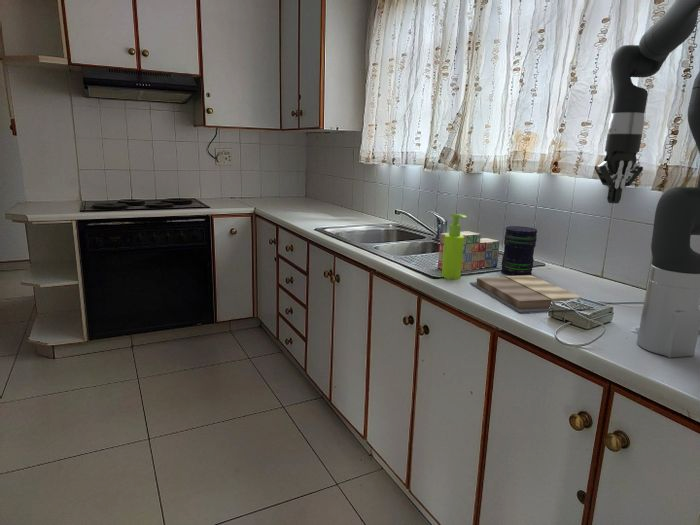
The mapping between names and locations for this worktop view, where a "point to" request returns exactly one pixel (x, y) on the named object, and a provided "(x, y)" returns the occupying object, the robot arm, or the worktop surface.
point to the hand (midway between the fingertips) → (613, 203)
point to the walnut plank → (513, 292)
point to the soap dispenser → (453, 250)
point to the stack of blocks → (474, 251)
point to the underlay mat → (523, 310)
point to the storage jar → (518, 251)
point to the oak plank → (543, 288)
